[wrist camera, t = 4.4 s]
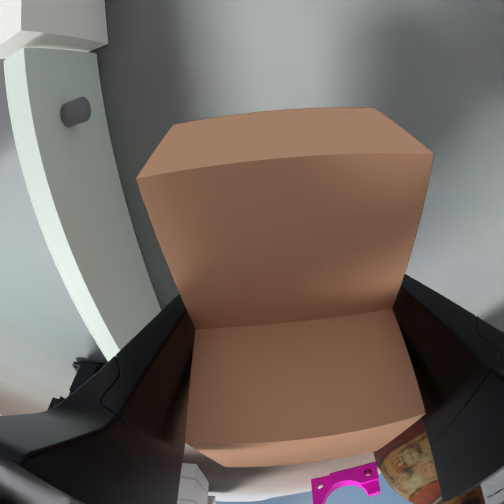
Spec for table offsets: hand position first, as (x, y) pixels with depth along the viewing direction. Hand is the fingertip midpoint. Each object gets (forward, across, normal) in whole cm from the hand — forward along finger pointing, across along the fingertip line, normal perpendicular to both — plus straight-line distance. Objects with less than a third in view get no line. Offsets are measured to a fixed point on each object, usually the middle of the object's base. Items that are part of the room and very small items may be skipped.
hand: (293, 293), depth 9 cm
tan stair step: (+2, 0, 0) cm, 2 cm away
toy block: (+12, -12, +66) cm, 68 cm away
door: (+12, +11, +13) cm, 21 cm away
